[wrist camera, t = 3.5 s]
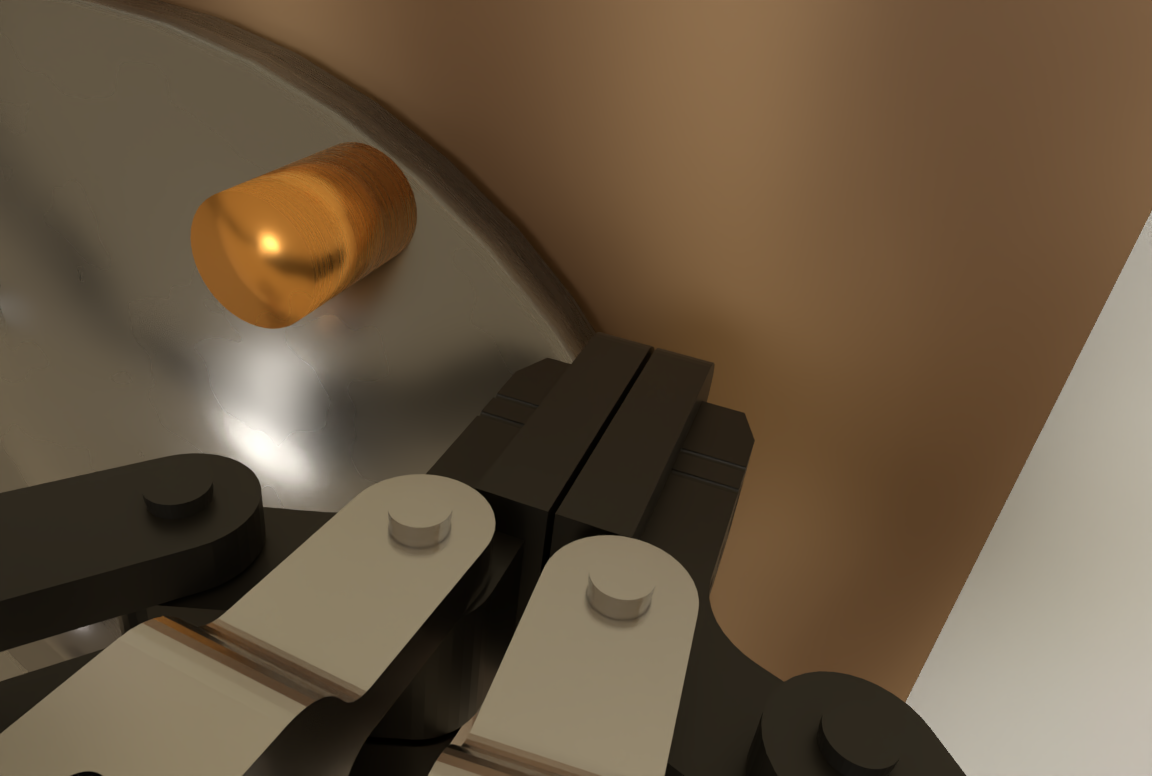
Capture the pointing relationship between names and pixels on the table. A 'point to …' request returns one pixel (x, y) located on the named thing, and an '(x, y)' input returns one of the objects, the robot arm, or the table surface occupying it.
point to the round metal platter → (237, 268)
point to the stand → (803, 246)
